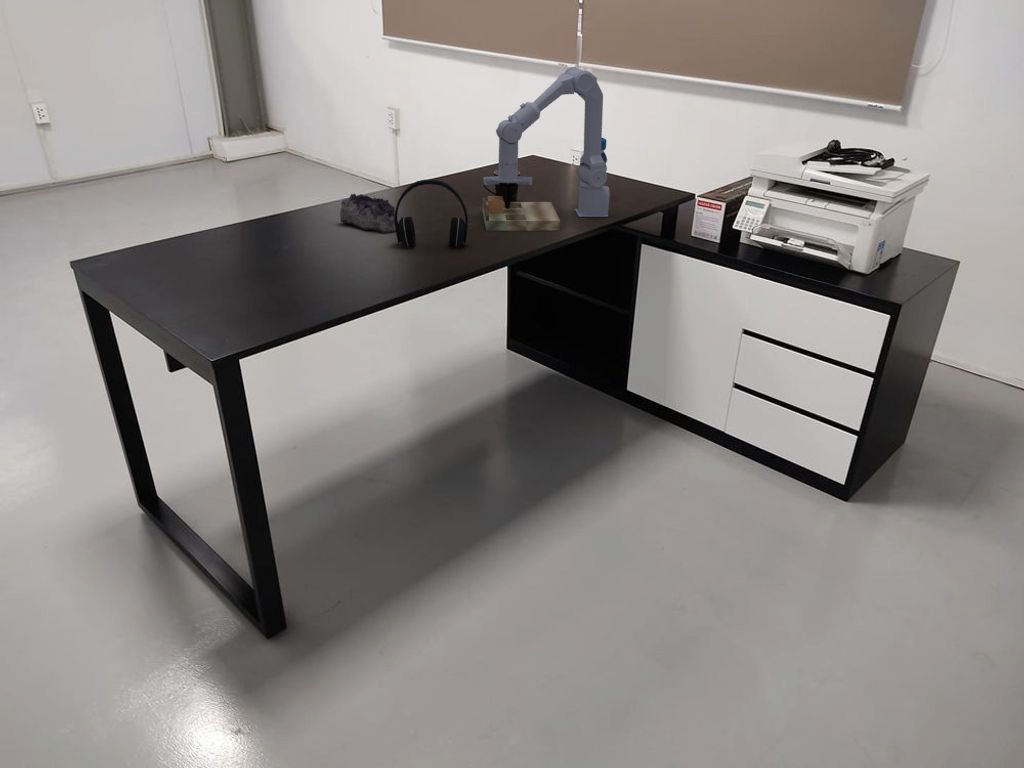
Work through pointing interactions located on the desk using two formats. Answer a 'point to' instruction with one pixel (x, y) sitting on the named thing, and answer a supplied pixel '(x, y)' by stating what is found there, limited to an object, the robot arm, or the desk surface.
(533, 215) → the trap board
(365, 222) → the geode
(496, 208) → the block
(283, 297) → the desk surface
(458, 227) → the headphones
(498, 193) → the coffee mug
